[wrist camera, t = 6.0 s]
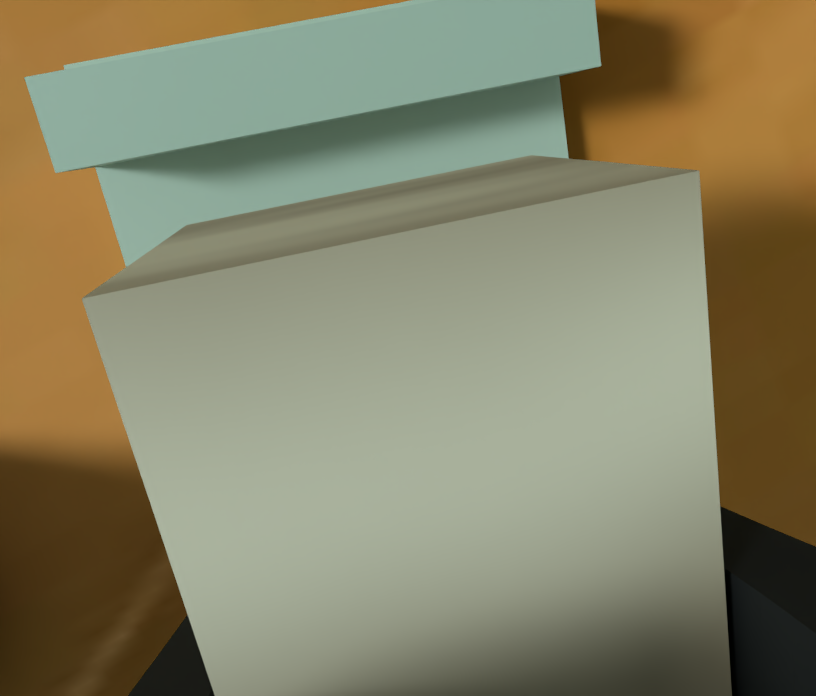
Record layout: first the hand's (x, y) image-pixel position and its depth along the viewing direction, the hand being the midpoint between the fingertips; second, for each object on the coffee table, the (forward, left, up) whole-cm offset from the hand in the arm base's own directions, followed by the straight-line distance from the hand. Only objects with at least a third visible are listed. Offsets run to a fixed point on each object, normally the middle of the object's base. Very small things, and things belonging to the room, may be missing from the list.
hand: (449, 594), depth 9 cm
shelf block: (0, 0, -1) cm, 1 cm away
